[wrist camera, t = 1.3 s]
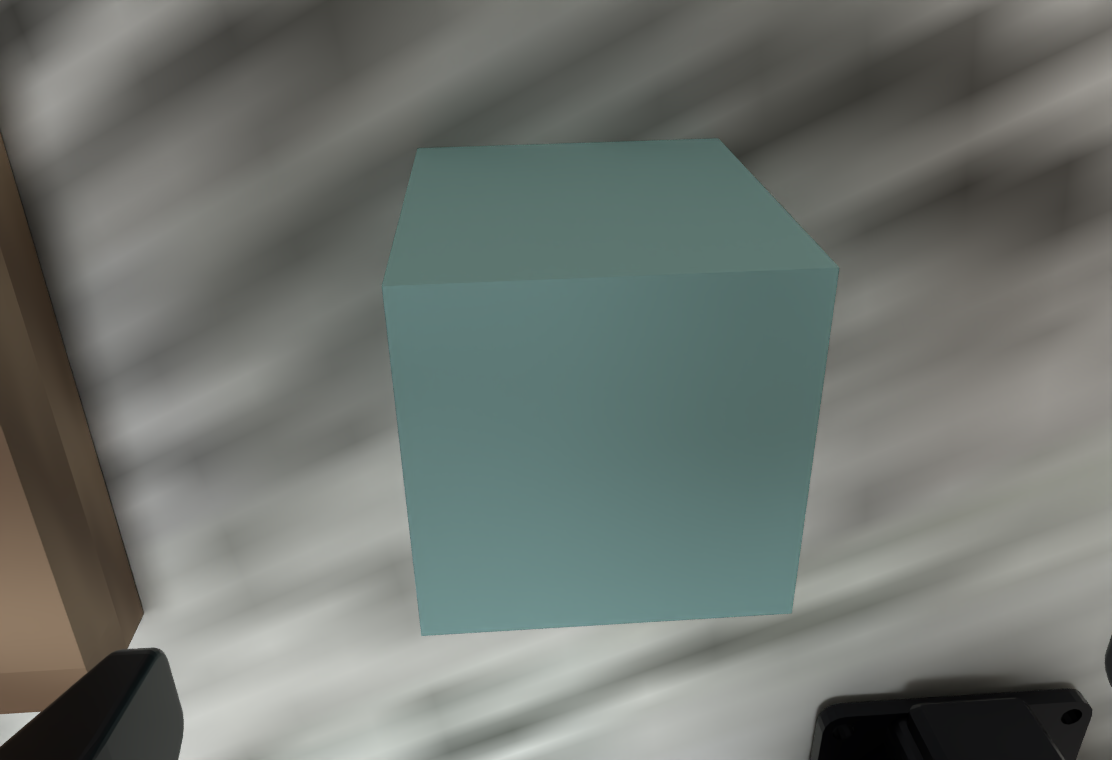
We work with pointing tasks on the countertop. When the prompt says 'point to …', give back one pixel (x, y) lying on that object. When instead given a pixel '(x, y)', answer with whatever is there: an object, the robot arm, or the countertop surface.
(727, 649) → the countertop surface
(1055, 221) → the countertop surface
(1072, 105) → the countertop surface
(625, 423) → the teal block
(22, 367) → the puzzle board
